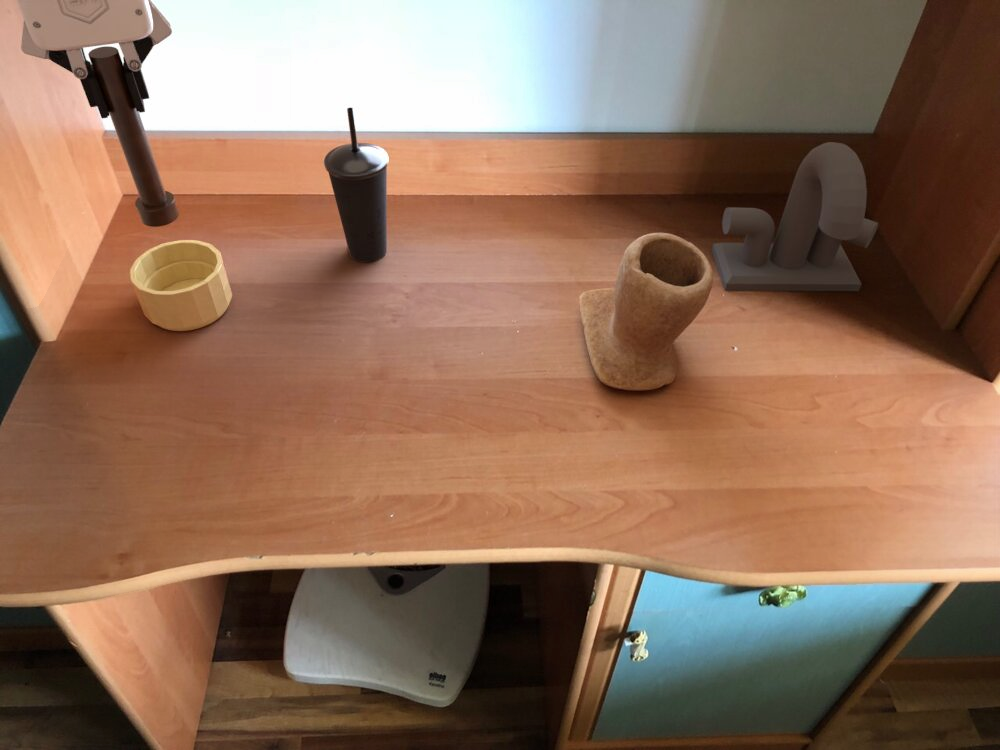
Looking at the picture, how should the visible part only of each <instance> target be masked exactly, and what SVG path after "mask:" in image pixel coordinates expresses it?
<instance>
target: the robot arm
mask: <svg viewBox="0 0 1000 750" xmlns="http://www.w3.org/2000/svg"><path fill="white" fill-rule="evenodd" d="M17 4H18V7H19V10H20V13H21V16H22V18H23V24H22V34H21V41H20V43H21V44H20V49H21V51H22V52H23V53H24V54H25V55H29V56H32V57H36V58H39V59H43V60H49V61H51V62H52V63H54V64H56V65H58V66H59V67H61V68H63V69H65V70H66V71H68V72H70V73H72V74H73V76H74V77H75V78H77V79H79V80H80V81H79V82H80V83H81V87H82V89H83V92H84V94H85V96H86V99H87V102H88V105H89V107H90V108H96V107H97V110H98V112H99V115H100V118H101V119H107V118H108V117H110V113H109V110H108V107H107V105H106V102H105V99H104V96H103V93H102V91H101V88H100V85H99V82H98V80H97V77H96V74H95V72H94V69H93V66H92V64H91V61H90V60H88V59H87V56H86V53H85V50H84V48H92V47H98V46H99V47H101V46H108V45H114V44H118V45H119V48H120V50H121V53H122V55H123V57H122V59H123V62H122V63H123V66H124V74H125V77H126V80H127V83H128V86H129V89H130V92H131V95H132V98H133V101H134V104H135V107H136V110H137V112H138V111H139V114H141V113H145V112H146V108H145V103H144V100H149V99H150V94H149V90H148V88H147V83H146V81H145V77H144V74H143V72H142V66H143V63H144V62H145V61H146V59H147V57H148V56H149V54H150V53H151V51H152V49H153V48H154V47H155V46H156V45H159V44H160V43H162V42H163V41H164V40H166V39H167V38H169V37H170V36H171V35H172V33H173V31H172V25H171V24H170V22H169V21H168V20H167V18H166V17H165V16H164V15H163V14H162V12H161V11H160V10H159V9H158V7H157V6H156V5H155V4H154V3H153V2H152V0H17Z"/></svg>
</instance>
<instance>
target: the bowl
mask: <svg viewBox="0 0 1000 750" xmlns="http://www.w3.org/2000/svg"><path fill="white" fill-rule="evenodd" d="M129 277H130V278H129V279H130V283H131V285H132V288H133V290H134V292H135V295H136V297H137V300H138V303H139V305H140V308H141V310H142V312H143V315H144V317H145V318H147V319H148V321H149V322H150V323H152V324H153V325H156V326H158V327H159V328H162V329H164V330H168V331H171V332H173V331H174V332H187V331H194V330H197V329H201V328H204V327H207V326H208V325H211V324H212V323H214V322H216V321H217V320H219V319H220V318H221V317H222V316H223V315H224V313H225V312H226V311H227V309H228V308H229V306H230V303H231V301H232V298H233V292H232V287H231V284H230V281H229V277H228V274H227V271H226V267H225V264H224V260H223V256H222V254H221V251H220V250H218V249H217V248H216V247H215V246H214V245H213V244H211V243H208V242H204V241H202V240H198V239H197V240H196V239H177V240H174V241H167V242H163V243H161V244H158V245H156V246H154V247H152V248H149V249H147V250H146V251H145V252H143V253H142V254H140V256H139V257H137V258H136V259H135V260H134V262H133V264H132V265H131V267H130V269H129Z"/></svg>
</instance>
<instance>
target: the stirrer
mask: <svg viewBox="0 0 1000 750" xmlns="http://www.w3.org/2000/svg"><path fill="white" fill-rule="evenodd" d="M88 58H89V62H90V63H91V64H92V66H93V69H94V72H95V74H96V77H97V80H98V82H99V85H100V88H101V91H102V93H103V96H104V99H105V102H106V105H107V107H108V110H109V117H110V119H111V121H112V122H111V123H112V124H113V127H114V130H115V133H116V136H117V137H118V142H119V144H120V146H121V150H122V152H123V155H124V158H125V160H126V163H127V166H128V168H129V171H130V175H131V177H132V180H133V182H134V185H135V188H136V191H137V194H138V197H137V198H136V200H135V202H134V206H135V208H136V211H137V214H138V216H139V220H140V222H141V223H142V224H143V225H145V226H146V227H151V228H158V227H164V226H168V225H170V224H172V223H174V222H175V221H176V220H177V219H178V218H179V216H180V209H179V207H178V205H177V201H176V198H175V195H174V194H173V193H172V192H171V191H167V190H165V187H164V184H163V180H162V177H161V174H160V171H159V169H158V166H157V163H156V160H155V157H154V153H153V150H152V148H151V144H150V142H149V138H148V135H147V132H146V130H145V127H144V123H143V121H142V117H141V115H140V114H141V113H140V112H139V111H138V112H137V110H136V107H135V104H134V101H133V98H132V95H131V92H130V89H129V86H128V83H127V80H126V77H125V74H124V66H123V63H124V62H123V61H122V57H121V54H120V52H119V49H118V48H117V47H115V46H108V45H105V46H99V47H96V48H93V49H92V50H90V51H89V52H88Z"/></svg>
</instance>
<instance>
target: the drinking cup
mask: <svg viewBox="0 0 1000 750" xmlns="http://www.w3.org/2000/svg"><path fill="white" fill-rule="evenodd" d="M346 112H347V120H348V127H349V136H350V143H346V144H342V145H339V146H337V147H335V148H333V149H331V150H329V152H328V153H327V154H326V155H325V157H324V159H323V160H324V161H323V165H324V168H325V170H326V171H327V172H328V176H329V180H330V184H331V187H332V191H333V195H334V199H335V203H336V206H337V210H338V214H339V218H340V222H341V226H342V229H343V233H344V237H345V240H346V244H347V248H348V249H347V250H348V253H349V256H350V258H352V259H353V260H355V261H357V262H360V263H373V262H377V261H379V260H381V259H382V258H384V256H386V254H387V240H388V239H387V236H388V235H387V230H388V229H387V227H388V226H387V224H388V223H387V222H388V221H387V219H388V217H387V212H388V211H387V210H388V209H387V204H388V203H387V201H388V198H387V195H388V194H387V193H388V192H387V190H388V189H387V187H388V185H387V182H388V181H387V179H388V177H387V176H388V166H389V163H390V159H389V154H388V153H387V151H386V150H385V149H384V148H383V147H380V146H378V145H377V144H376V145H375V144H372V143H366V142H358V137H357V129H356V123H355V121H356V120H355V114H354V108H353V107H348V108H347V109H346Z"/></svg>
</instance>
